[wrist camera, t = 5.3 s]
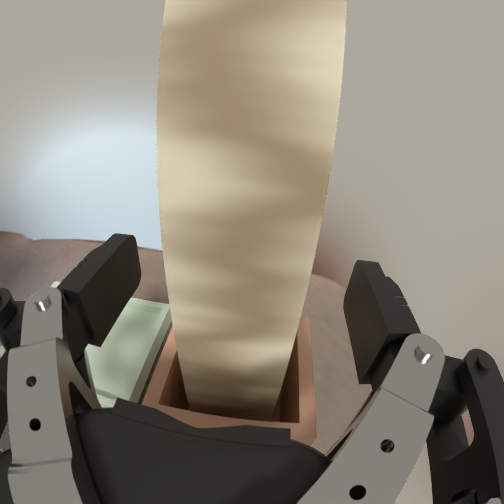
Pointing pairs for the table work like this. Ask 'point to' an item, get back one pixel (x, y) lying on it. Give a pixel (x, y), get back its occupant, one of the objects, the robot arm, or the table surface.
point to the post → (243, 185)
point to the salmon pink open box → (285, 416)
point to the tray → (127, 351)
